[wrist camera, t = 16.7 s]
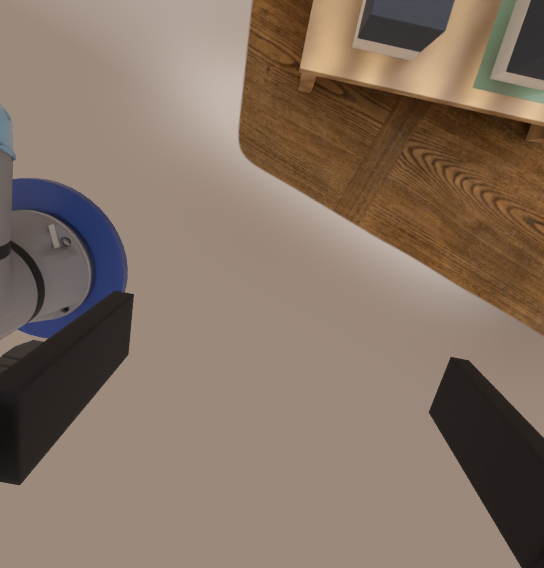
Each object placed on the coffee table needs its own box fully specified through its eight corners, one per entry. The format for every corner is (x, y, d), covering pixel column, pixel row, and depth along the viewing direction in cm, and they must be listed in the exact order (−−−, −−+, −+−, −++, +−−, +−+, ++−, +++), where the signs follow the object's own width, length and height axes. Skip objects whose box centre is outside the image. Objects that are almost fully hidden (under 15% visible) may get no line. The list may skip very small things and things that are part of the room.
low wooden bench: (296, 90, 43) (299, 68, 33) (333, -100, 38) (351, -192, 28) (538, 143, 44) (609, 136, 34) (609, -35, 39) (717, -102, 29)
